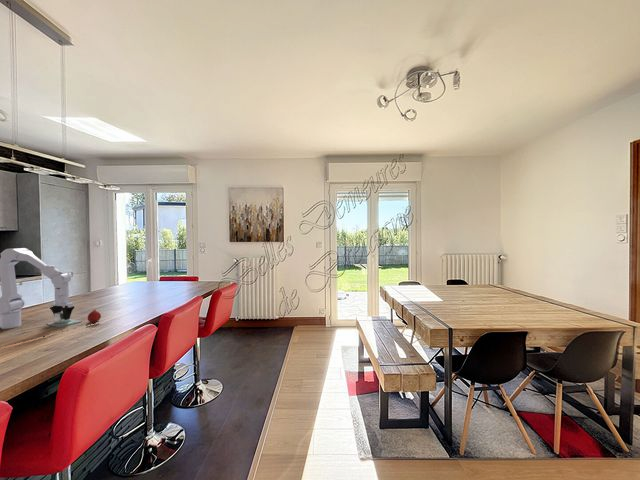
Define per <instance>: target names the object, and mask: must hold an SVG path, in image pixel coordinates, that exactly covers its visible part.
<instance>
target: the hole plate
mask: <svg viewBox="0 0 640 480" xmlns="http://www.w3.org/2000/svg"><path fill="white" fill-rule="evenodd" d="M81 323H83V321H82V320H79V319H72V318H70V319H69V322H66V323H61V324H55V321H52V322H47V323H46V324H45V325H46V326H50V327H56V328H64V327H68V326H72V325H76V324H81Z"/></svg>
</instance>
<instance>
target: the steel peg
mask: <svg viewBox="0 0 640 480" xmlns="http://www.w3.org/2000/svg"><path fill="white" fill-rule="evenodd" d="M54 314H55V317H54V322H55V324H61V323H66V322H70V321H69V319H68V320H64V316H63V312H62V311H61V312H58V313H54ZM54 314H53V315H54Z"/></svg>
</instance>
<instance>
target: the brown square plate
mask: <svg viewBox="0 0 640 480" xmlns="http://www.w3.org/2000/svg"><path fill="white" fill-rule="evenodd" d="M50 327H51V326H50V325H46V324H38V325H33V326H29V327H25V328H20V329H19V331H21V332H25V333H30V332H32V331H37V330H41V329H46V328H50Z"/></svg>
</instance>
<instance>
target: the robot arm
mask: <svg viewBox="0 0 640 480" xmlns="http://www.w3.org/2000/svg"><path fill="white" fill-rule="evenodd" d="M21 261H22V262H28V263H29V264H31V265H32V266H34V267H36V268H37V269H39V270H40V273H41V274H42V275H44V276H45V277H47V278H48V279H50V281H51V283H52V285H53V287H54V301H53V302H51V306H50V307H49V309H50V311H51V312H52V314H53V316H54V318H55V314H54V313H58V312H63V316H64V320H68V319H71V315H72V312H73V311H74V309H75V306H74V303H73V302H71V301H69V300H70V297H69V296H70V295H69V294H70V293H69V292H70V291H69V282H70V281H71V279H72V278H71V275H70V274H69V273H66V272H64V271H61V270H59V269H58V268H56V265H52V264H46V263H45V262H44V261H42V260H41V258H39V257H37V256H36V255H35V254H34V253H33V251H32V250H29V248H26V247H21V248H20V247H19V248H17V247H16V248H6V249H4V250H3V251H2V252H0V287H1V296H0V329H2V330H6V329H13V328H17V327H21V326H22V309H23V308H24V306H25V305H26V304H25V301H24V299H23V297H22V295H21V294H20V293H18V287H17V278H16V269H15V265H17V264H18V263H20V262H21Z"/></svg>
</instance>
